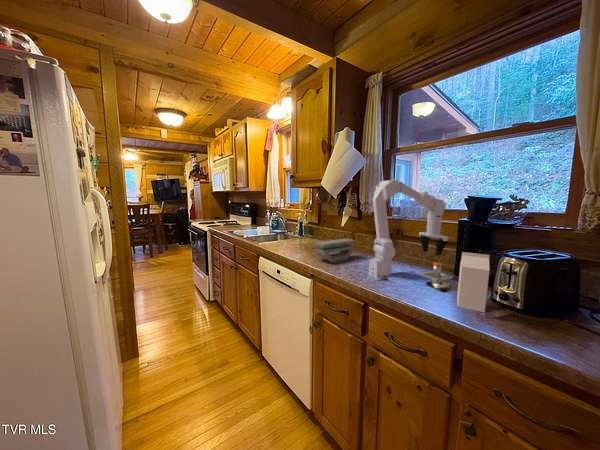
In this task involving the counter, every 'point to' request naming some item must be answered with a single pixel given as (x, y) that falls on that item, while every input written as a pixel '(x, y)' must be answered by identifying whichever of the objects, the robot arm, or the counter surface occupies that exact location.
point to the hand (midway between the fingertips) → (431, 253)
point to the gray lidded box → (335, 249)
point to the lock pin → (436, 270)
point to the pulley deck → (453, 288)
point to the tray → (446, 277)
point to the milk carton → (473, 281)
